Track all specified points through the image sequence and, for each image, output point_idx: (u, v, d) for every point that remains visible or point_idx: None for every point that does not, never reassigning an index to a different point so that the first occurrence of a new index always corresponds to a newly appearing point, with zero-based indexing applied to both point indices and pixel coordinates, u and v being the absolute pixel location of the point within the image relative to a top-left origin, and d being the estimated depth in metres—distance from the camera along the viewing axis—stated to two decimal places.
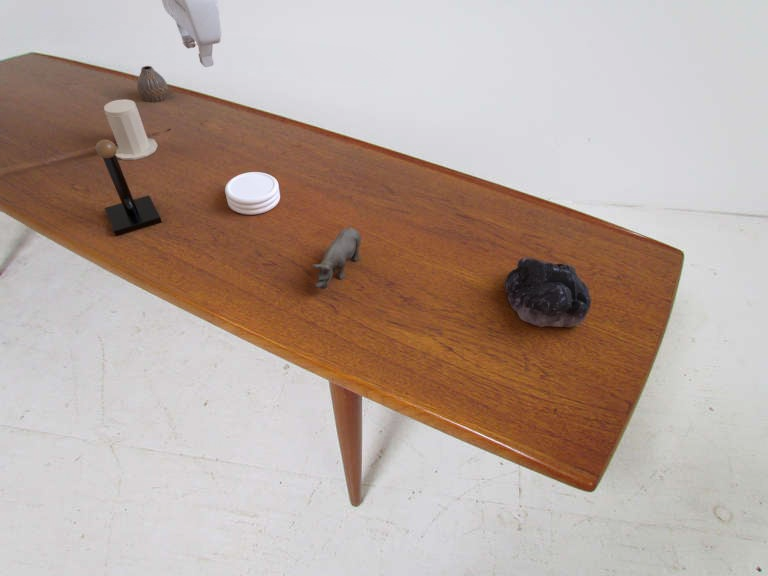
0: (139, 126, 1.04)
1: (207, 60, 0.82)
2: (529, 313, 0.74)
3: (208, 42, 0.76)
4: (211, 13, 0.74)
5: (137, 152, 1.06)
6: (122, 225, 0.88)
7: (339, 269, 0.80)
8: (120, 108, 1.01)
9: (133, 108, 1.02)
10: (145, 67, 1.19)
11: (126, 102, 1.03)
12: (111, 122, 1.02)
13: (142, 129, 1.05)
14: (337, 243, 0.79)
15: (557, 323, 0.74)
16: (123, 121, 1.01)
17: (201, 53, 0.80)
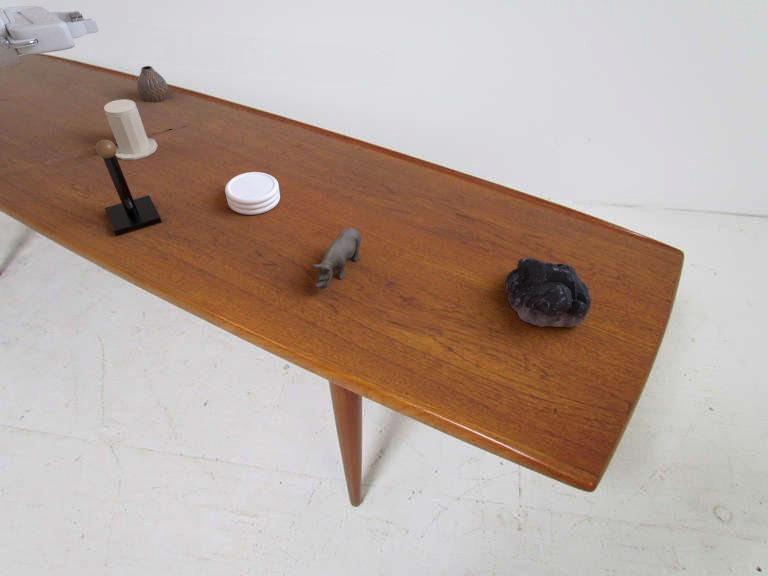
0: (139, 126, 1.04)
1: None
2: (529, 313, 0.74)
3: None
4: None
5: (137, 152, 1.06)
6: (122, 225, 0.88)
7: (339, 269, 0.80)
8: (120, 108, 1.01)
9: (133, 108, 1.02)
10: (145, 67, 1.19)
11: (126, 102, 1.03)
12: (111, 122, 1.02)
13: (142, 129, 1.05)
14: (337, 243, 0.79)
15: (557, 323, 0.74)
16: (123, 121, 1.01)
17: None
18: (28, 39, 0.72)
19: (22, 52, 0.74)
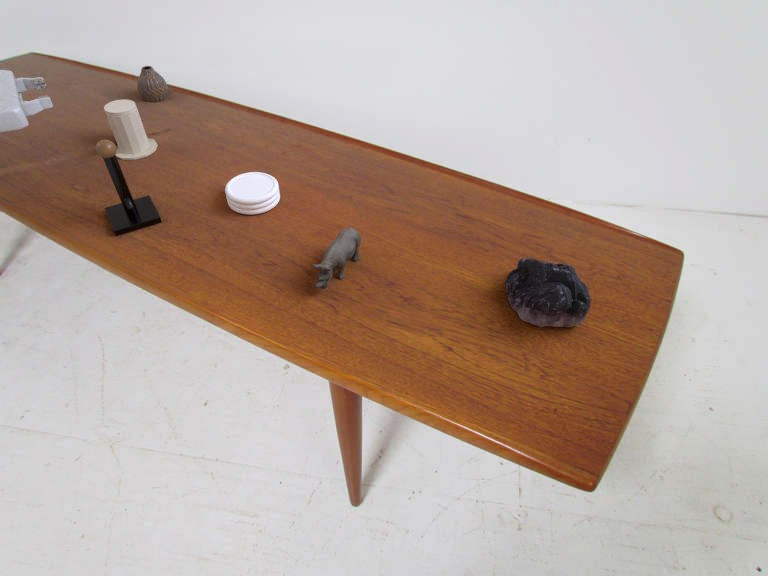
0: (139, 126, 1.04)
1: None
2: (529, 313, 0.74)
3: None
4: None
5: (137, 152, 1.06)
6: (122, 225, 0.88)
7: (339, 269, 0.80)
8: (120, 108, 1.01)
9: (133, 108, 1.02)
10: (145, 67, 1.19)
11: (126, 102, 1.03)
12: (111, 122, 1.02)
13: (142, 129, 1.05)
14: (337, 243, 0.79)
15: (557, 323, 0.74)
16: (123, 121, 1.01)
17: None
18: None
19: None
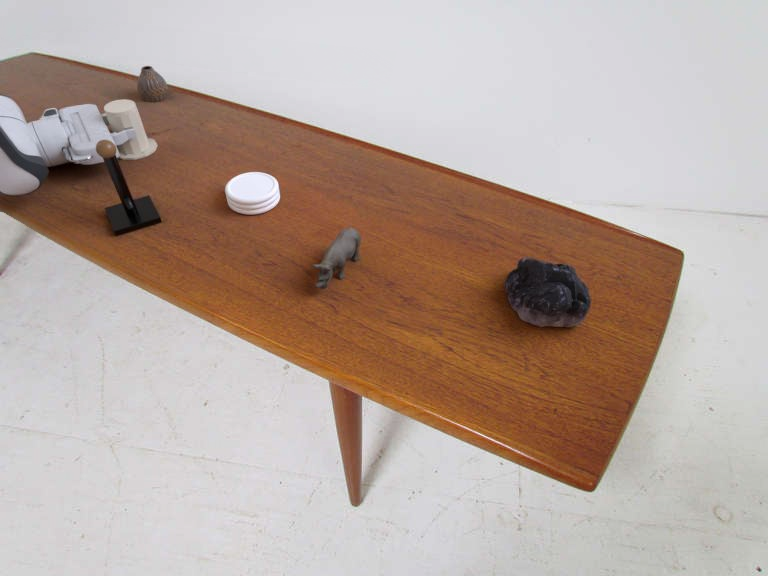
0: (139, 126, 1.04)
1: None
2: (529, 313, 0.74)
3: None
4: None
5: (137, 152, 1.06)
6: (122, 225, 0.88)
7: (339, 269, 0.80)
8: (120, 108, 1.01)
9: (133, 108, 1.02)
10: (145, 67, 1.19)
11: (126, 102, 1.03)
12: (111, 122, 1.02)
13: (142, 129, 1.05)
14: (337, 243, 0.79)
15: (557, 323, 0.74)
16: (123, 121, 1.01)
17: None
18: (85, 156, 0.95)
19: (80, 163, 0.96)
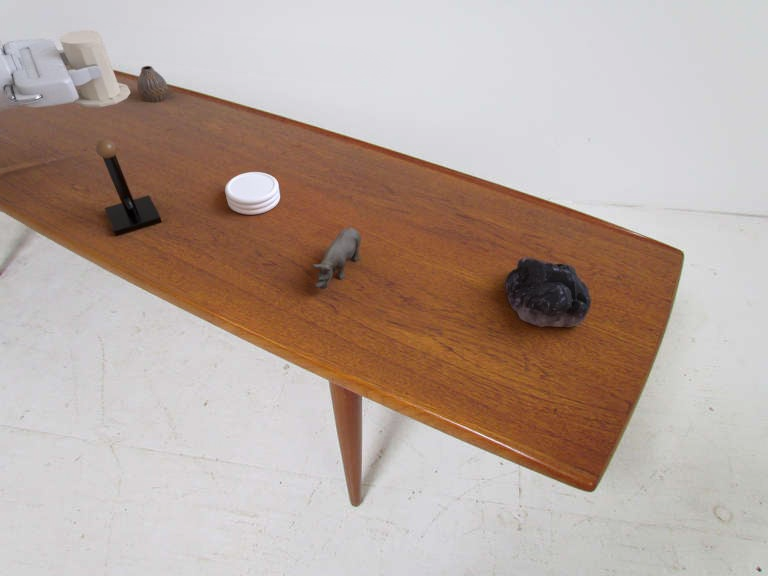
0: (106, 64, 0.83)
1: None
2: (529, 313, 0.74)
3: None
4: None
5: (104, 98, 0.86)
6: (122, 225, 0.88)
7: (339, 269, 0.80)
8: (80, 39, 0.80)
9: (97, 39, 0.81)
10: (145, 67, 1.19)
11: (89, 32, 0.82)
12: (70, 57, 0.81)
13: (110, 69, 0.85)
14: (337, 243, 0.79)
15: (557, 323, 0.74)
16: (84, 55, 0.80)
17: None
18: (33, 95, 0.74)
19: (27, 105, 0.76)
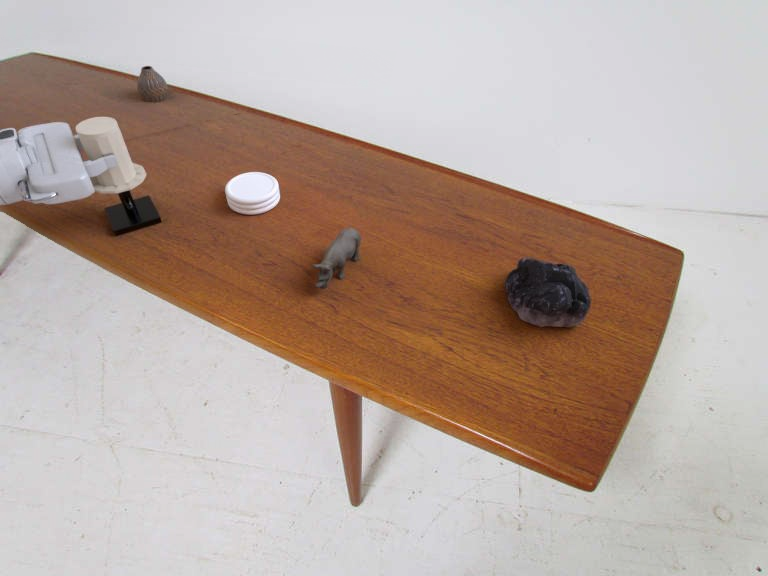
0: (122, 151, 0.81)
1: None
2: (529, 313, 0.74)
3: None
4: None
5: (120, 183, 0.83)
6: (122, 225, 0.88)
7: (339, 269, 0.80)
8: (96, 129, 0.78)
9: (114, 128, 0.78)
10: (145, 67, 1.19)
11: (105, 120, 0.80)
12: (85, 147, 0.78)
13: (126, 154, 0.82)
14: (337, 243, 0.79)
15: (557, 323, 0.74)
16: (100, 145, 0.78)
17: None
18: (48, 194, 0.72)
19: (42, 202, 0.73)
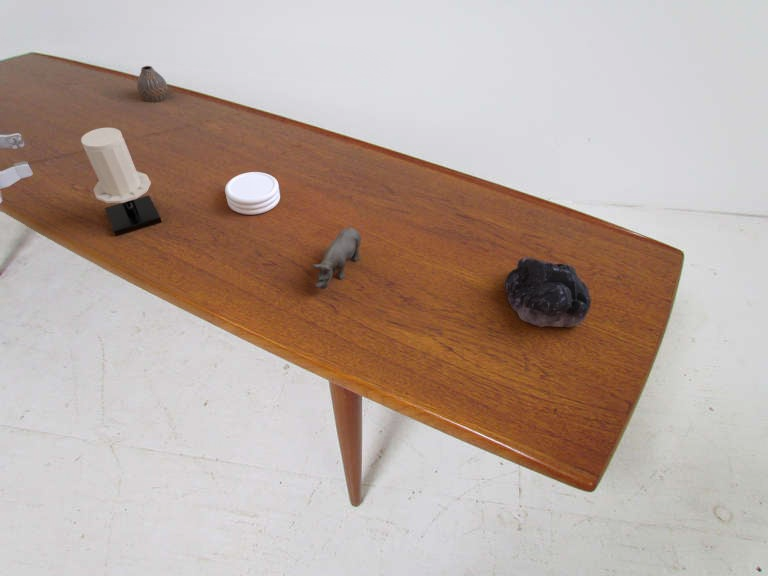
0: (127, 161, 0.83)
1: None
2: (529, 313, 0.74)
3: None
4: None
5: (125, 193, 0.85)
6: (122, 225, 0.88)
7: (339, 269, 0.80)
8: (101, 140, 0.79)
9: (118, 140, 0.80)
10: (145, 67, 1.19)
11: (110, 131, 0.81)
12: (91, 158, 0.80)
13: (131, 164, 0.84)
14: (337, 243, 0.79)
15: (557, 323, 0.74)
16: (106, 157, 0.80)
17: (2, 135, 0.78)
18: None
19: None
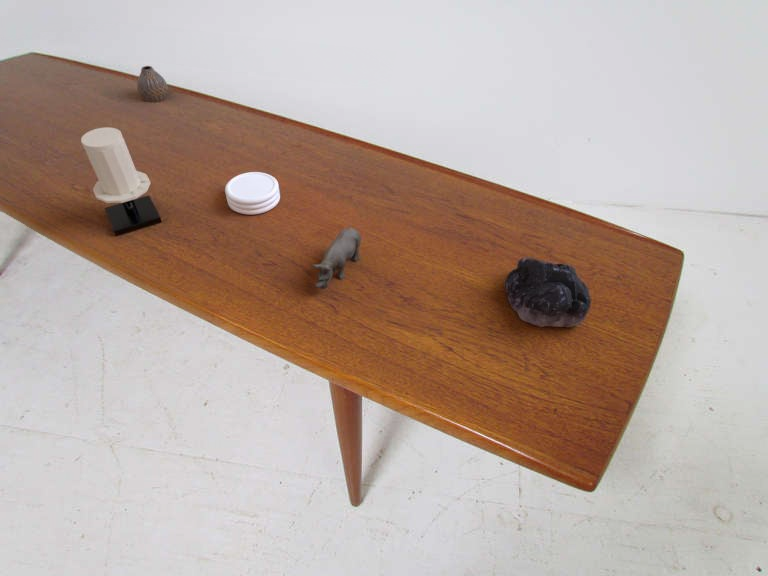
0: (127, 161, 0.83)
1: None
2: (529, 313, 0.74)
3: None
4: None
5: (125, 193, 0.85)
6: (122, 225, 0.88)
7: (339, 269, 0.80)
8: (101, 140, 0.79)
9: (119, 140, 0.80)
10: (145, 67, 1.19)
11: (110, 131, 0.81)
12: (91, 158, 0.80)
13: (131, 164, 0.84)
14: (337, 243, 0.79)
15: (557, 323, 0.74)
16: (106, 157, 0.80)
17: None
18: None
19: None
